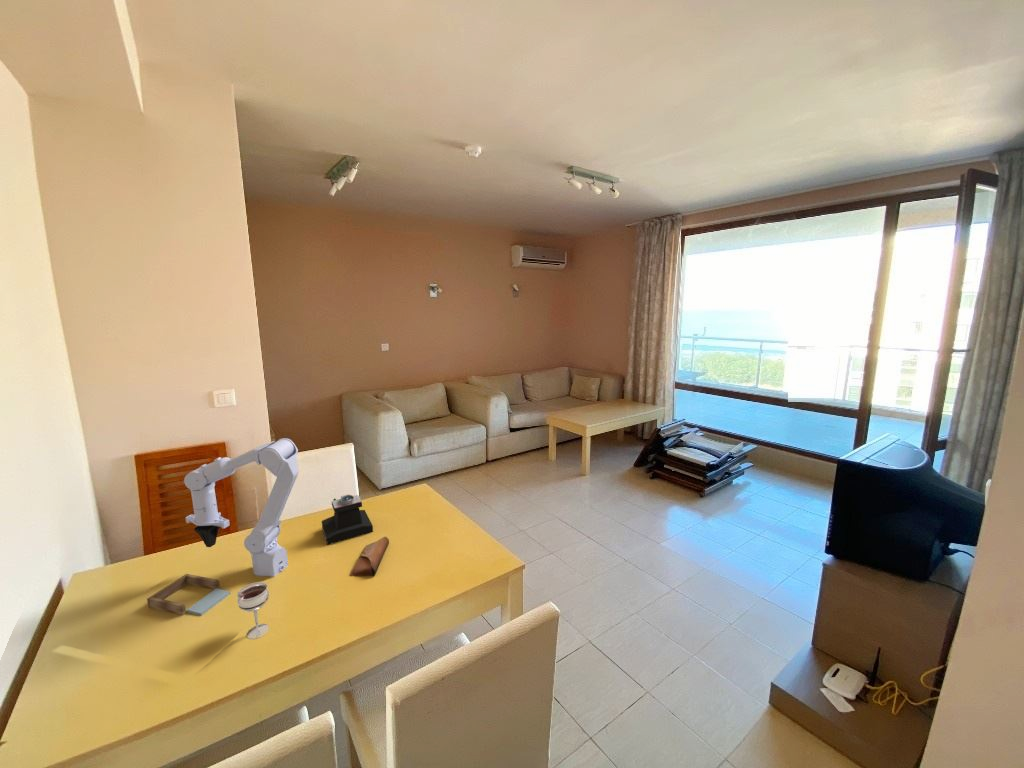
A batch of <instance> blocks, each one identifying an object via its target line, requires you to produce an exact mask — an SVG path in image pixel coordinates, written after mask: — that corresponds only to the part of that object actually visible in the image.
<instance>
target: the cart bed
mask: <svg viewBox="0 0 1024 768" xmlns="http://www.w3.org/2000/svg"><path fill="white" fill-rule="evenodd" d="M187 585H189V586H193V587H198V588H205V589H209V590H215V589H216V588H217V589H221V585H220V580H219V579H217V578H216V579H215V578H210V577H205V576H201V575H194V574H190V573H185V574H184V575H182V576H180V577H179V578H177V579H176V580H174V581H173V582H171V583H169V584H168V585H167V586H164V587H163V588H162V589H160V590H158V591H157V592H155V593H154V594H152V595H151V596H149V597H148V598H146V601H147V607H148V609H152V610H157V611H162V612H165V613H171V614H176V615H179V616H184V615H185V614H187V609H186V605H185V603H181V602H177V601H172V600H167V598H168V597H170V596H171V595H173V594H176V592H178V591H180V590H181V589H183V588H184V587H186V586H187Z"/></svg>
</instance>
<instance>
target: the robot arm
mask: <svg viewBox="0 0 1024 768" xmlns="http://www.w3.org/2000/svg"><path fill="white" fill-rule="evenodd" d="M298 452H299V449H298V447H297V446H296V444H295V443H294V442H293V440H292V439H290V438H287V437H286V438H282V437H281V438H279V439H278V440H277V441H275V440H273V441H269V442H267V443H264V444H261V445H259V446H256V447H254V448H252V449H250V450H248V451H246V452H244V453H242V454H239V455H237V456H235V457H233V458H230V457H228V456H227V457H221V456H219V457H217V458H215V459H213V462H210V463H208V464H207V463H204V464H202V465H200V466H199V467H198V468H196V469H195V470H194V469H193V470H192V471H190V472H188V473H187V474H186V475H185V477H184V478H183V479H184V480H183V483H184V485H185V487H186V488H187V489H189V490H190V494H191V499H192V500H191V501H192V507H193V514H189V515H187V516H186V517H185V523H186V524H190V523H192V524H194V525H196V527H194V528H193V530H194V532H195V533H197V534H198V536H199V537H200V538H201V540H202V541H203V544H204V545H205V547H206V548H211V547H213V546H215V545H216V543H217V537H218V533H219V530H220V528H221V529H227V528H228V527H229V526H230V519H228V518H224V517H223V516H221V515H222V514H221V512H220V511H219V512H218V503H217V498H216V496H217V495H216V491H215V486H216V482H218V481H220V480H223V479H225V478H228V477H230V476H232V475H234V473H235V472H236V471H237V468H240V467H243V466H247V465H248V464H251V463H254V462H255V464H257V465H262V467H264V468H266V470H268V471H269V472H270V473H271V474H272V475H273V476H274V477H275V478H276V479H275V481H274V484H273V486H272V488H271V490H270V494H269V496H268V498H267V499H266V503H265V506H264V508H263V511H262V512H261V516H260V518H259V520H258V522H257V523H256V524H255V525H254V527H253V529H251V532H250V534H248V535H247V536H246V537H245V539H244V541H243V542H244V543H243V545H244V547H245V550H247V551H248V552H249V554H251V563H252V564H251V565H252V569H253V574H254V575H255V576H258V577H262V576H263V577H264V576H265V577H272V578H276V577H277V576H278V575H279V574H280V573H281V572H282V571H283V570H285V569H286V568H287V567H288V566H289V560H288V558H289V557H288V551H287V548H285V547H283V546H281V545H280V544H279V543H278V536H279V535H280V534H281V523H282V519H281V516H282V514H283V511H284V508H285V506H286V504H287V501H288V499H289V497H290V495H291V493H292V489H293V487H294V485H295V483H296V480H297V478H298V475H299V464H298V463H299V462H298V456H297V455H298Z"/></svg>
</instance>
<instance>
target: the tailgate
mask: <svg viewBox="0 0 1024 768" xmlns="http://www.w3.org/2000/svg"><path fill="white" fill-rule="evenodd" d="M231 594H232V593H231V591H229V590H225V589H222V588H220V589H217V588H216V589H215V590H214V589H212V591H210V592H209V593H208V594H206V595H205V596H204V597H202V598H201V599H200V600H197V601H196V602H195V603H194V604H193V605H191V606H190V607H188V608H187V609H186V613H189V614H194V615H198V616H203V615H205V614H206V613H207V612H208V611H210V610H211V609H213V608H214V607H215V606H217V605H218V604H219V603H220V602H221V601H223V600H224V599H225V598H227V597H228V596H230V595H231Z"/></svg>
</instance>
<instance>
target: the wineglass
mask: <svg viewBox="0 0 1024 768" xmlns="http://www.w3.org/2000/svg"><path fill="white" fill-rule="evenodd" d="M269 594H270V593H269V590H268V584H267V582H264V581H255V582H253V583H252V582H251V583H249V584H247V585H245V586H244V587H241V588H240V589H239V591H238V592H237V595H236V597H237V598H238V599H237V605H238V608H239V609H240V610H242V611H244V612H247V613H252V612H253V616H254V621H255V626H253V627H251V628H250V629H249V630H248V631H247V632H246V637H247V638H248V639H249V640H254V639H258V638H260V637H262V636H265V634H266V633H267V632H268V631H269V628H270V627H269V625H268V624H266V623H260V624H259V619H258V610H259V609H261V608H262V607H263V606H264V605H265V604H266V603H267V601H268V599H269V596H270V595H269Z"/></svg>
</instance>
